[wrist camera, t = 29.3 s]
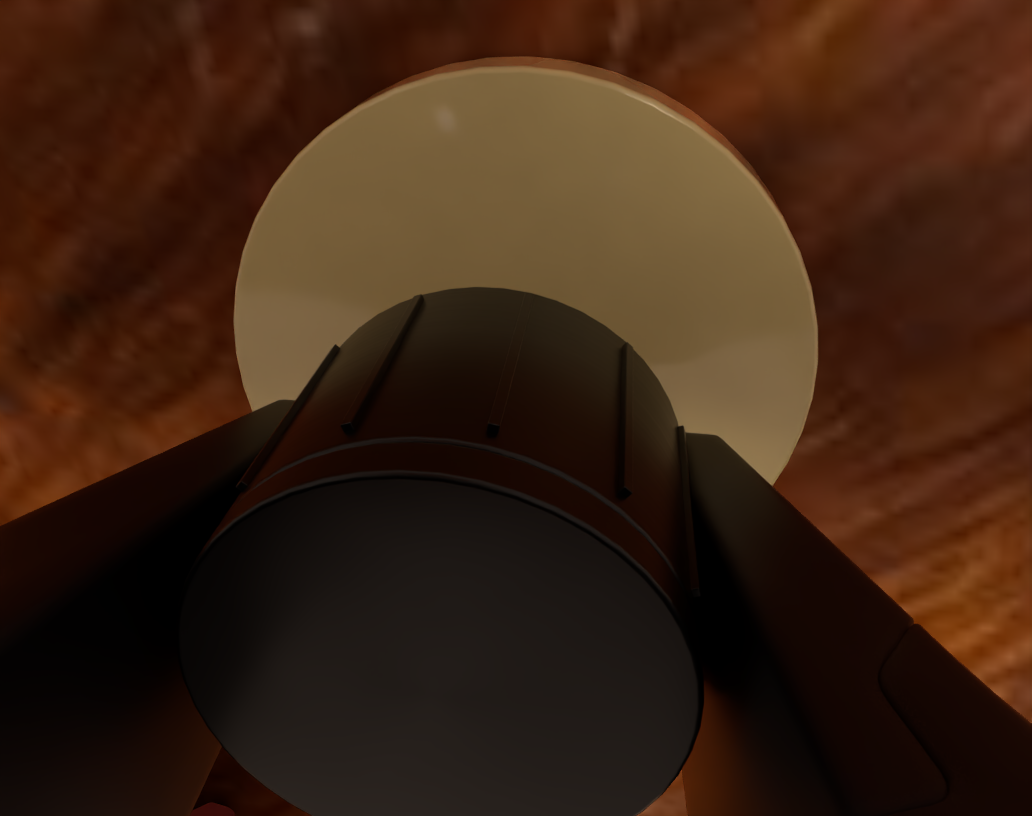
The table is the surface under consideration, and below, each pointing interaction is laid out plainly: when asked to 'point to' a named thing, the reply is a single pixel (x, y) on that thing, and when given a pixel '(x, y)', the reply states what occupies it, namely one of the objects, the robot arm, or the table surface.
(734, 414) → the round beige coaster
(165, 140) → the table surface
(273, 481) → the cap
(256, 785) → the table surface
